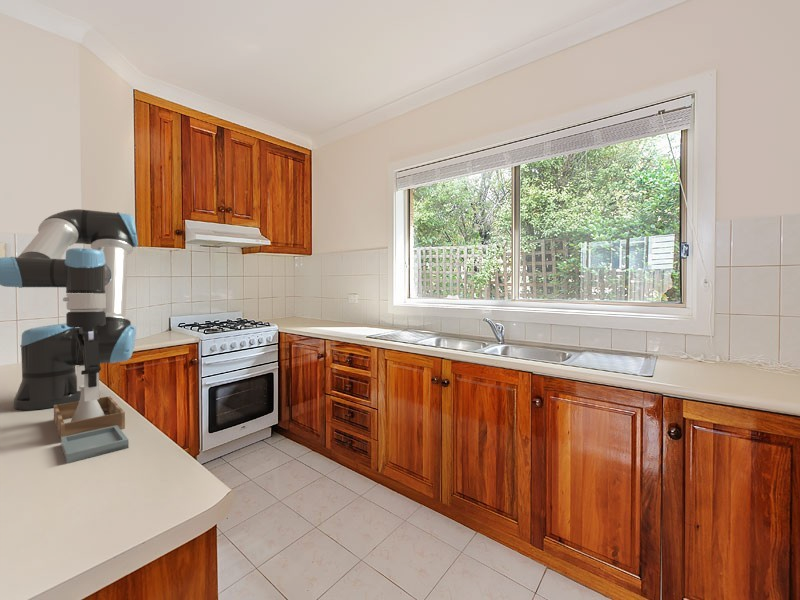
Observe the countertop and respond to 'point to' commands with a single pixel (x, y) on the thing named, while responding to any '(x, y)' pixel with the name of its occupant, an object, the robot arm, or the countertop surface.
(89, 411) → the flask
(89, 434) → the tray
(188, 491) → the countertop surface
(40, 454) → the countertop surface
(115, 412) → the caddy
